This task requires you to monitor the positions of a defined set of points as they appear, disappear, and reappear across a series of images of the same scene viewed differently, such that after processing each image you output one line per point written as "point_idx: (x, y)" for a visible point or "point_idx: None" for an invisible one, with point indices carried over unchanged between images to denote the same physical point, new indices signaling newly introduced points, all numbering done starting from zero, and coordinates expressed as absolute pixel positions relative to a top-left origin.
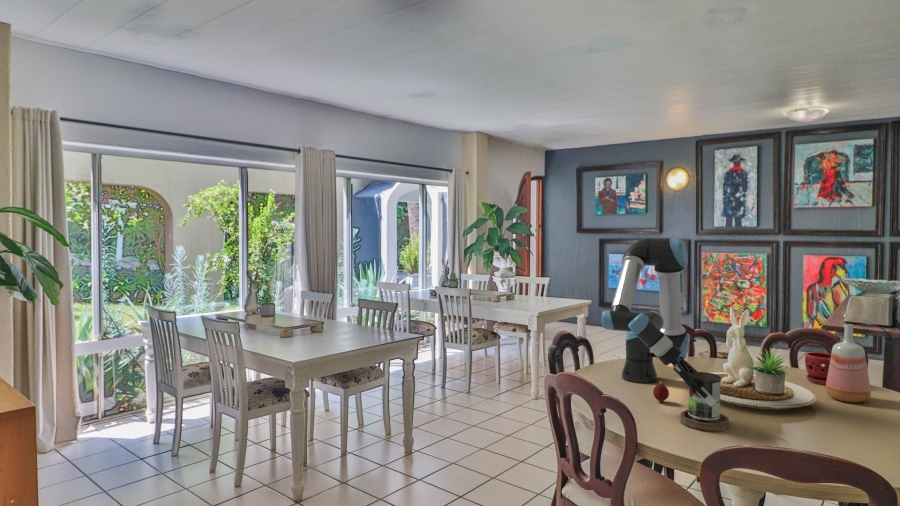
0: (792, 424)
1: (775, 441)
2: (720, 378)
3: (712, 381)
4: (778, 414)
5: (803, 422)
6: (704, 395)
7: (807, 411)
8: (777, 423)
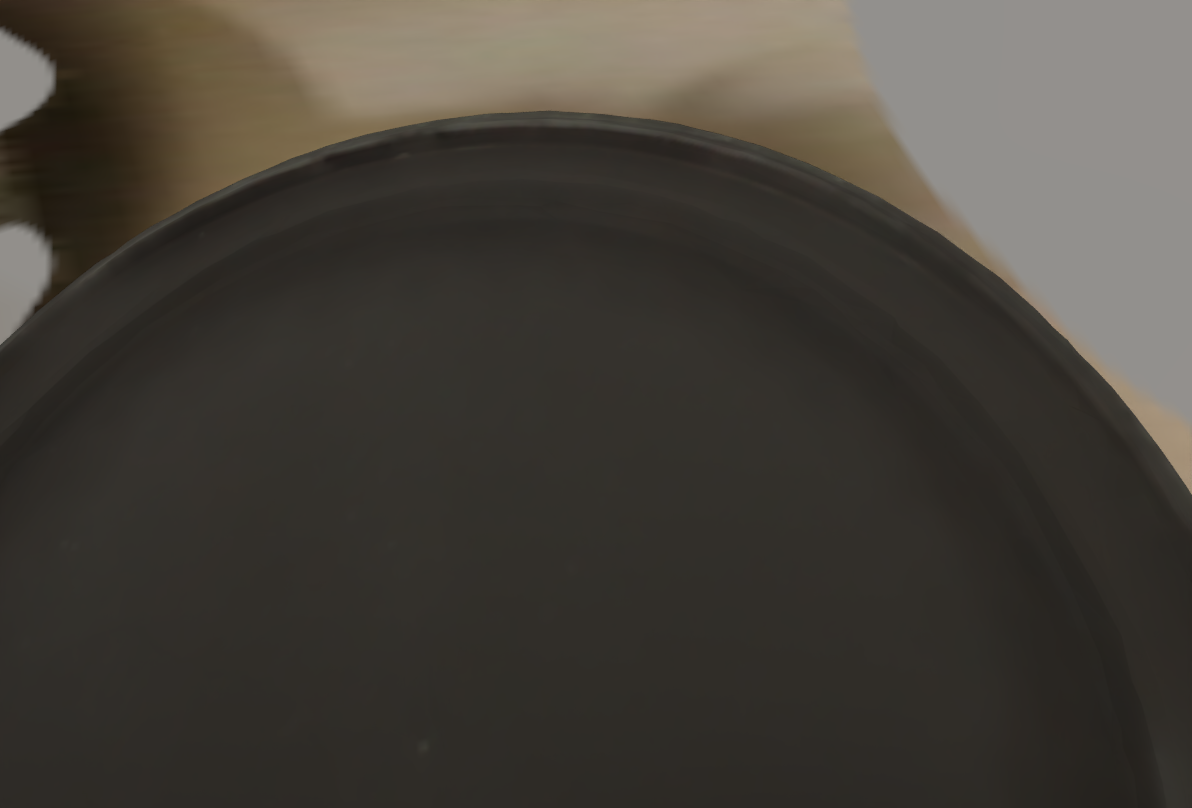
0: (341, 66)
1: (782, 115)
2: (560, 113)
3: (1005, 323)
4: (137, 150)
5: (276, 24)
6: None
7: (38, 25)
8: (352, 138)
